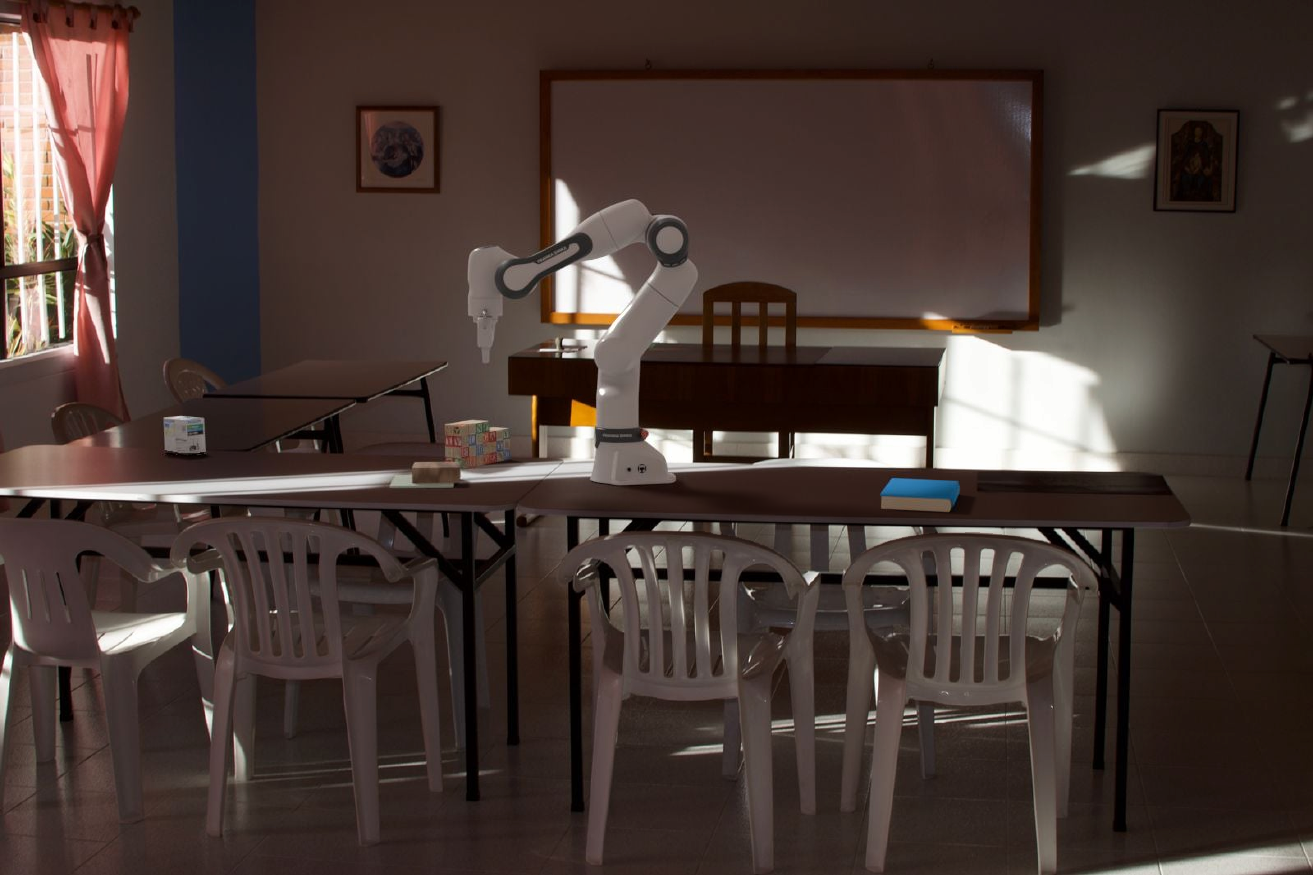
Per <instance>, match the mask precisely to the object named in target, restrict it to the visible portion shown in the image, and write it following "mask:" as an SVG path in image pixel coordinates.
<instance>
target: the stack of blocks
mask: <svg viewBox="0 0 1313 875" xmlns="http://www.w3.org/2000/svg"><path fill="white" fill-rule="evenodd" d="M510 433H511V432H510V428H509V427H498V426H497V427H496V426H492V427H491V424H490V421H489V420H481V419H480V420H477V419H469V420H468V419H467V420H461V421H458V422H452V423H445V424H444V451H445V452H444V455H445V456H444V458H445V459H444V462H461V468H464V469H468V468H467V467H469V468H474V467H480V466H484V465H488V464H489V465H490V464H494V463H498V462H500V463H501V462H504V461H509V460H511V438H510V437H511V436H510ZM495 456H496V457H495Z"/></svg>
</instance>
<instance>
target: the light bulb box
mask: <svg viewBox="0 0 1313 875" xmlns="http://www.w3.org/2000/svg"><path fill="white" fill-rule="evenodd" d="M205 431H206V427H205V418H204V417H196V416H195V417H194V416H186V415H184V416H183V415H179V416H178V415H177V416H168V417H167V416H166V417H165V416H164V417H163V432H164V434H163V435H164V436H163V437H164V451H165V450H167V451H173V452H178V453H200V452H206V453H207V450H206V448H207V447H206V432H205Z"/></svg>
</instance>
